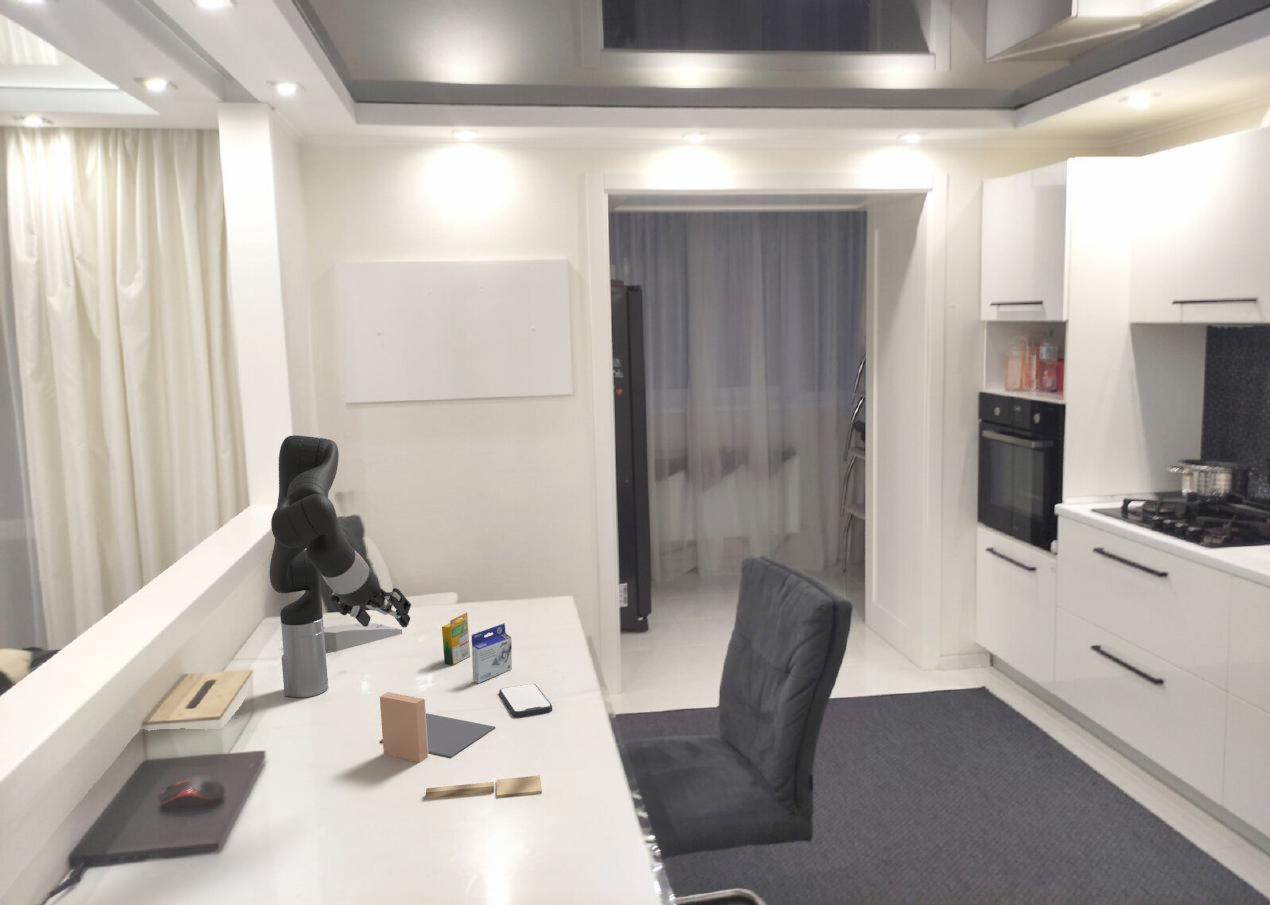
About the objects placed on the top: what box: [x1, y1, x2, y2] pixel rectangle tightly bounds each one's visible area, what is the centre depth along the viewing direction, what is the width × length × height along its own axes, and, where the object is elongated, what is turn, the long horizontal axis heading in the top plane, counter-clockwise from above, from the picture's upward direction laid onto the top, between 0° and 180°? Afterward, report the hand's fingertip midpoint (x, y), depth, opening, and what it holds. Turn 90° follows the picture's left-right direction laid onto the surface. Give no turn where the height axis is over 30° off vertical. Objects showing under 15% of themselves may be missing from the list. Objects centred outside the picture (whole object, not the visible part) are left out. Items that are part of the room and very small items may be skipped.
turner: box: [425, 775, 543, 800], centre depth 175 cm, size 20×6×1 cm, turn 98°
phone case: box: [498, 683, 553, 718], centre depth 216 cm, size 9×2×16 cm
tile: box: [379, 692, 429, 763], centre depth 190 cm, size 9×3×12 cm, turn 63°
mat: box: [379, 712, 496, 758], centre depth 199 cm, size 18×15×1 cm
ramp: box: [324, 622, 403, 652], centre depth 262 cm, size 28×16×5 cm, turn 110°
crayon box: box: [441, 612, 471, 666], centre depth 243 cm, size 7×3×12 cm, turn 154°
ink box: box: [471, 622, 513, 684], centre depth 231 cm, size 12×2×12 cm, turn 143°
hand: (386, 622), depth 187 cm, fingers open, 8 cm apart
